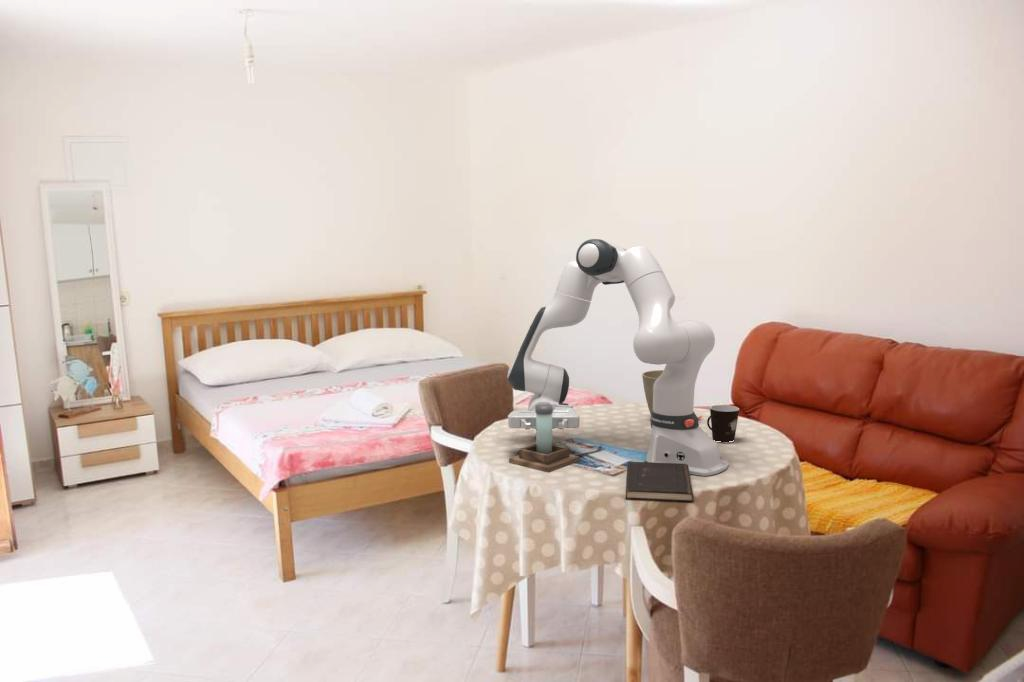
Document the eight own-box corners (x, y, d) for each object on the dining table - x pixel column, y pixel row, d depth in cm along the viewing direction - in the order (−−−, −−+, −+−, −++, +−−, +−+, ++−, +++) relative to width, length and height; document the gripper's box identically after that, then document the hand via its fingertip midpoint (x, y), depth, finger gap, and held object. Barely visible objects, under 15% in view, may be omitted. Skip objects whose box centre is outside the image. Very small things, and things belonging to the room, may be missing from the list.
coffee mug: (729, 435, 262) (730, 404, 261) (743, 443, 254) (744, 410, 252) (694, 438, 259) (695, 406, 258) (707, 445, 251) (708, 412, 250)
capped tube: (555, 455, 237) (554, 404, 235) (550, 460, 233) (549, 408, 230) (538, 454, 239) (538, 403, 236) (533, 459, 234) (533, 407, 232)
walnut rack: (579, 460, 237) (579, 447, 236) (548, 472, 226) (548, 458, 226) (540, 451, 246) (540, 439, 245) (509, 462, 235) (508, 449, 235)
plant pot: (635, 417, 286) (636, 371, 284) (677, 415, 289) (678, 369, 286) (650, 428, 272) (651, 379, 269) (693, 426, 274) (695, 377, 272)
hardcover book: (625, 499, 205) (625, 490, 204) (627, 469, 227) (627, 461, 227) (692, 502, 202) (693, 493, 202) (688, 472, 225) (688, 463, 224)
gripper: (507, 404, 247) (506, 415, 233) (577, 404, 247) (580, 415, 233) (507, 425, 248) (506, 437, 234) (577, 425, 248) (580, 437, 234)
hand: (544, 426), depth 234 cm, fingers open, 8 cm apart
